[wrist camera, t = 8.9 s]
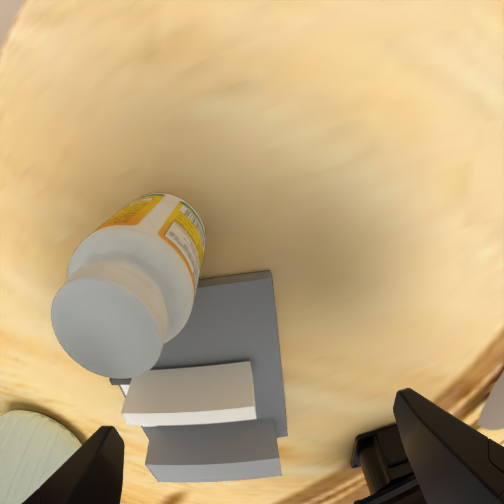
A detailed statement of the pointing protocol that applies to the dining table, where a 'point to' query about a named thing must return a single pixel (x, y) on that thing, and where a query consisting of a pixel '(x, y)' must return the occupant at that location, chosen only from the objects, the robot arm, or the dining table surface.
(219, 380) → the gauge paddle
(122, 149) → the dining table surface
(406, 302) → the dining table surface
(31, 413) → the vase
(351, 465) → the robot arm
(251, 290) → the gauge base
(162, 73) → the dining table surface
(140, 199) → the supplement bottle
